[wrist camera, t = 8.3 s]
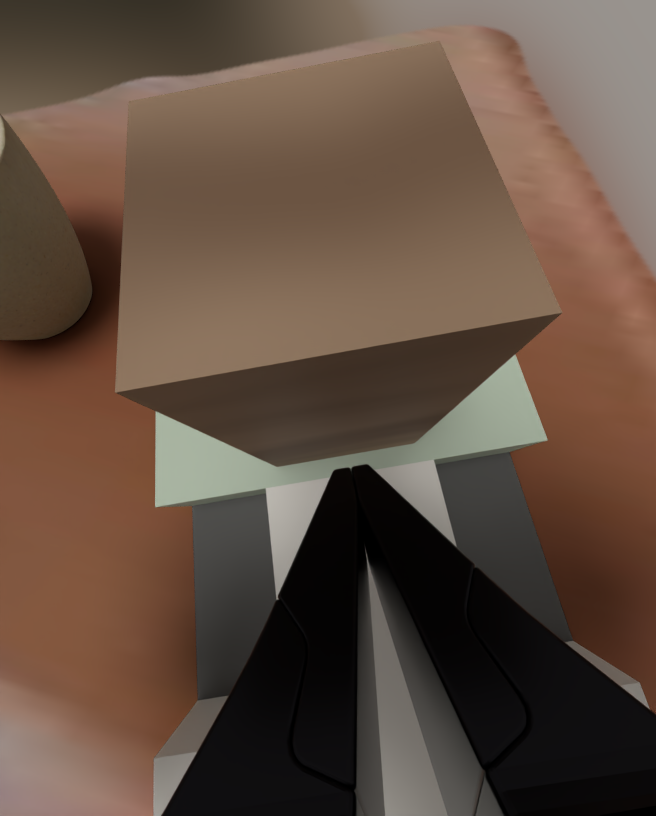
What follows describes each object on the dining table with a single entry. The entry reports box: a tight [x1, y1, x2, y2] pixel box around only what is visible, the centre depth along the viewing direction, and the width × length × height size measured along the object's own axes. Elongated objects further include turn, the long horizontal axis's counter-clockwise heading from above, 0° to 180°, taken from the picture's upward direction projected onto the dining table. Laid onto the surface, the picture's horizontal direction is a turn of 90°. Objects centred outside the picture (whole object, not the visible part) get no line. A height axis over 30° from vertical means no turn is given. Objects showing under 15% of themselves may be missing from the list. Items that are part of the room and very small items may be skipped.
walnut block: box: [115, 41, 562, 467], centre depth 8 cm, size 5×5×8 cm
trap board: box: [154, 355, 650, 816], centre depth 11 cm, size 21×14×3 cm, turn 9°
